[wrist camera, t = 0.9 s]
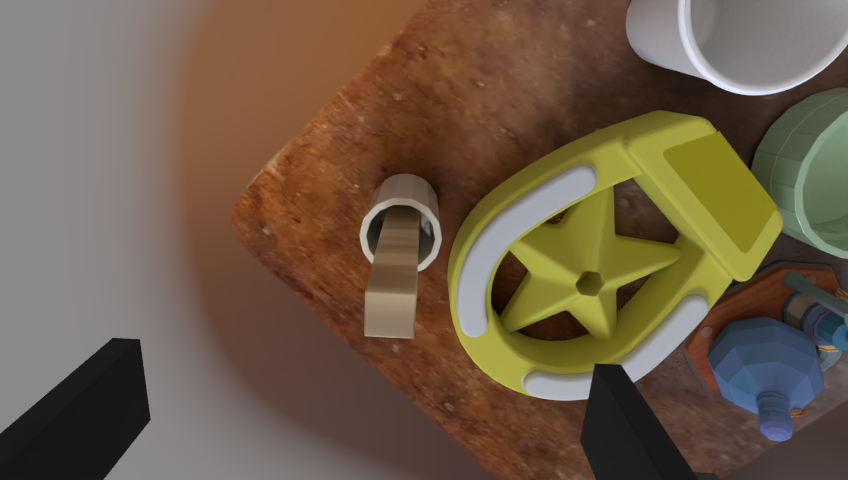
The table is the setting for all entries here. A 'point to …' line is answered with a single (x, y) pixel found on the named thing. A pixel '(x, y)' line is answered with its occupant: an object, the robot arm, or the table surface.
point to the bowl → (809, 170)
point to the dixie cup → (740, 39)
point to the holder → (412, 194)
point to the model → (772, 341)
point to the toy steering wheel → (607, 252)
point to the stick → (394, 276)
